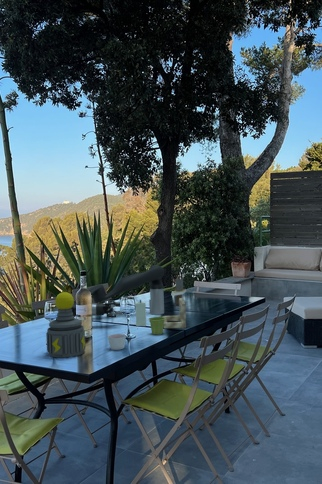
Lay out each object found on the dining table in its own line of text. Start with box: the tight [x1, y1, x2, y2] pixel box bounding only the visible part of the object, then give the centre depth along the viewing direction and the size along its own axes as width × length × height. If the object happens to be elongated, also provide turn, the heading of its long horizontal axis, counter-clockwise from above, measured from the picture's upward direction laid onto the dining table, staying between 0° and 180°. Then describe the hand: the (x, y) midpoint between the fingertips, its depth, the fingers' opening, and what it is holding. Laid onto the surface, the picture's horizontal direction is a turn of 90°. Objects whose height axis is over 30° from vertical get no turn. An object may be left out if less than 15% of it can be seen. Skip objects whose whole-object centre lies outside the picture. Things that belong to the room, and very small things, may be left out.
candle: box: [107, 333, 127, 351], centre depth 247 cm, size 9×9×6 cm
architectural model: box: [170, 277, 187, 307], centre depth 374 cm, size 38×25×20 cm, turn 168°
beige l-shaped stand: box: [162, 297, 187, 329], centre depth 302 cm, size 13×23×14 cm, turn 2°
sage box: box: [135, 299, 147, 327], centre depth 301 cm, size 6×5×16 cm
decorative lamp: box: [45, 291, 86, 359], centre depth 240 cm, size 19×19×30 cm
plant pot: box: [148, 316, 165, 336], centre depth 277 cm, size 9×9×9 cm
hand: (122, 308), depth 300 cm, fingers open, 8 cm apart
